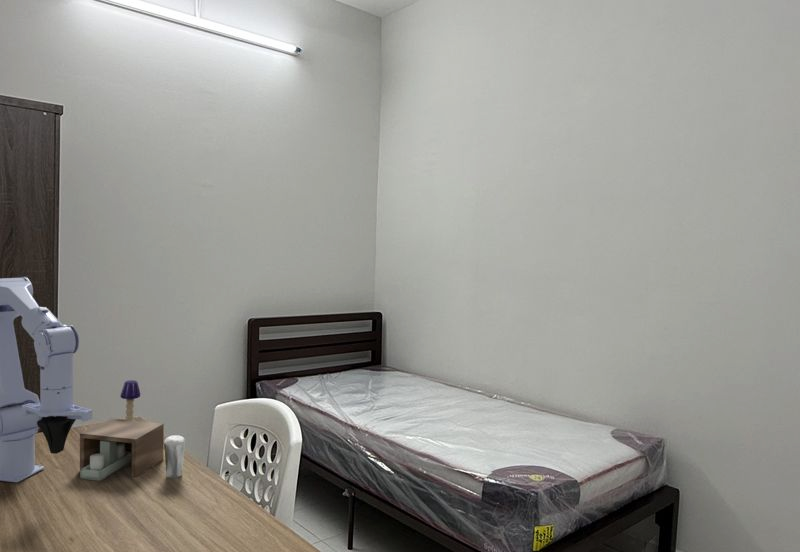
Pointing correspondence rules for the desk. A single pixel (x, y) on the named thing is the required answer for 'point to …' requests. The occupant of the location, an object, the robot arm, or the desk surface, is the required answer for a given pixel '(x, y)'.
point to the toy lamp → (130, 396)
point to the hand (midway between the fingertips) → (57, 451)
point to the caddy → (106, 461)
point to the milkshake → (174, 455)
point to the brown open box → (126, 442)
